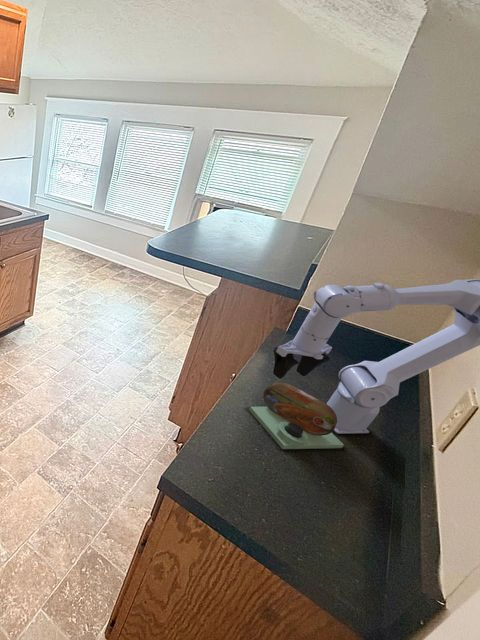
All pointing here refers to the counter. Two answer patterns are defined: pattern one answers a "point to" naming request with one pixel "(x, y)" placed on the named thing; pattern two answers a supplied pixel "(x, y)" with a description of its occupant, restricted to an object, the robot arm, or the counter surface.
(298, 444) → the pale green flat piece
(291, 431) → the button
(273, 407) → the tin
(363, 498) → the counter surface
